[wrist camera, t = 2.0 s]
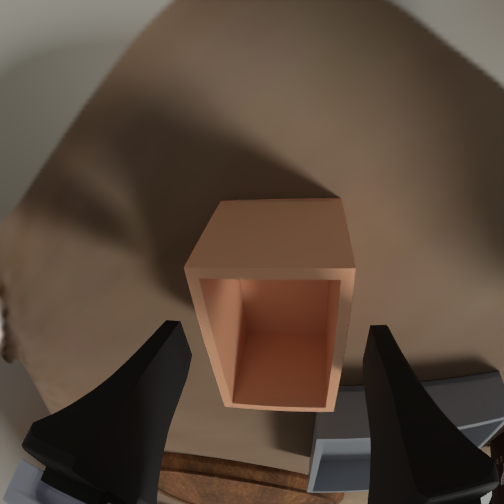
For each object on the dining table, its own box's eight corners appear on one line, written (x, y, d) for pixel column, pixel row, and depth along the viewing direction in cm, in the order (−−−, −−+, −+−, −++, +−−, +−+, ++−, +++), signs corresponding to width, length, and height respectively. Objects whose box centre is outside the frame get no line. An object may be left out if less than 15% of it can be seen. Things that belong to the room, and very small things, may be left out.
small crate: (340, 196, 13) (355, 268, 9) (332, 333, 17) (333, 411, 13) (221, 199, 14) (183, 267, 10) (242, 331, 18) (225, 406, 14)
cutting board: (160, 488, 50) (156, 498, 48) (110, 426, 32) (102, 442, 30) (318, 513, 47) (317, 524, 45) (376, 467, 29) (376, 486, 27)
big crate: (498, 370, 17) (513, 414, 14) (439, 448, 25) (442, 480, 21) (318, 386, 20) (316, 439, 16) (309, 457, 27) (306, 492, 24)
